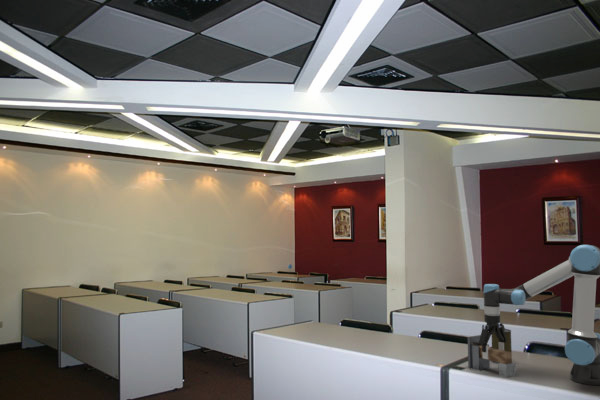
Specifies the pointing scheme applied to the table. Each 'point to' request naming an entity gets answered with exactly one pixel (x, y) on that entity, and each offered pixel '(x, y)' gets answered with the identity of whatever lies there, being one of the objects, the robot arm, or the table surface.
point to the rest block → (507, 369)
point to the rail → (498, 355)
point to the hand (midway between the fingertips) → (493, 356)
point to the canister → (506, 345)
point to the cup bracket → (476, 354)
